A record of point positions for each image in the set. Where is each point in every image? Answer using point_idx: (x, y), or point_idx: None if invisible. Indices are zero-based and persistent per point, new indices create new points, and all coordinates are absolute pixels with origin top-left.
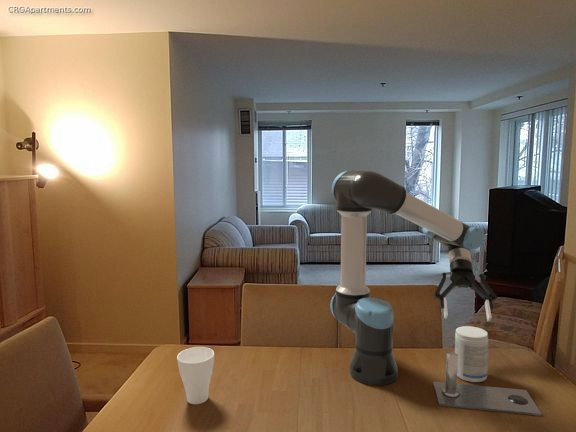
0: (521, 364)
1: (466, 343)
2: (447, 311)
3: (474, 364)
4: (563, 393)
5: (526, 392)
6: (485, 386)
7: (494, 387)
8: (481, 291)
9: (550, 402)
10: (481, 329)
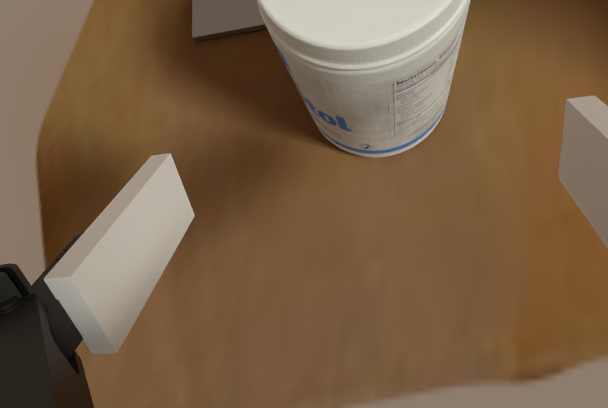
0: None
1: None
2: (586, 117)
3: None
4: (82, 74)
5: (196, 19)
6: None
7: None
8: (30, 400)
9: (142, 2)
10: (278, 6)
